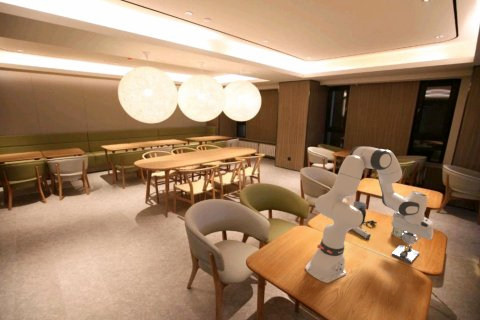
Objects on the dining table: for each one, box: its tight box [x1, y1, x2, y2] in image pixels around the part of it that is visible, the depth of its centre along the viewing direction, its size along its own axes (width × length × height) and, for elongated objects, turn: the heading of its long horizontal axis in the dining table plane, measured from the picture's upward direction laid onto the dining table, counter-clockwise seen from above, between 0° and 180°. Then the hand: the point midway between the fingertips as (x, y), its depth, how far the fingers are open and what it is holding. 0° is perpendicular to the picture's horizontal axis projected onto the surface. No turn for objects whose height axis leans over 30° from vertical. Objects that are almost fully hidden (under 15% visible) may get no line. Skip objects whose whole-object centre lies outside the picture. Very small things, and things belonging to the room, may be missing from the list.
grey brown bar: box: [352, 226, 372, 240], centre depth 168 cm, size 5×7×25 cm
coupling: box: [402, 231, 418, 245], centre depth 140 cm, size 6×6×5 cm
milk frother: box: [353, 201, 378, 225], centre depth 178 cm, size 14×16×15 cm
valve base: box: [391, 244, 420, 265], centre depth 142 cm, size 15×10×5 cm, turn 129°
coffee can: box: [391, 226, 405, 239], centre depth 162 cm, size 10×10×14 cm
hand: (408, 238), depth 140 cm, fingers closed on coupling, 6 cm apart
